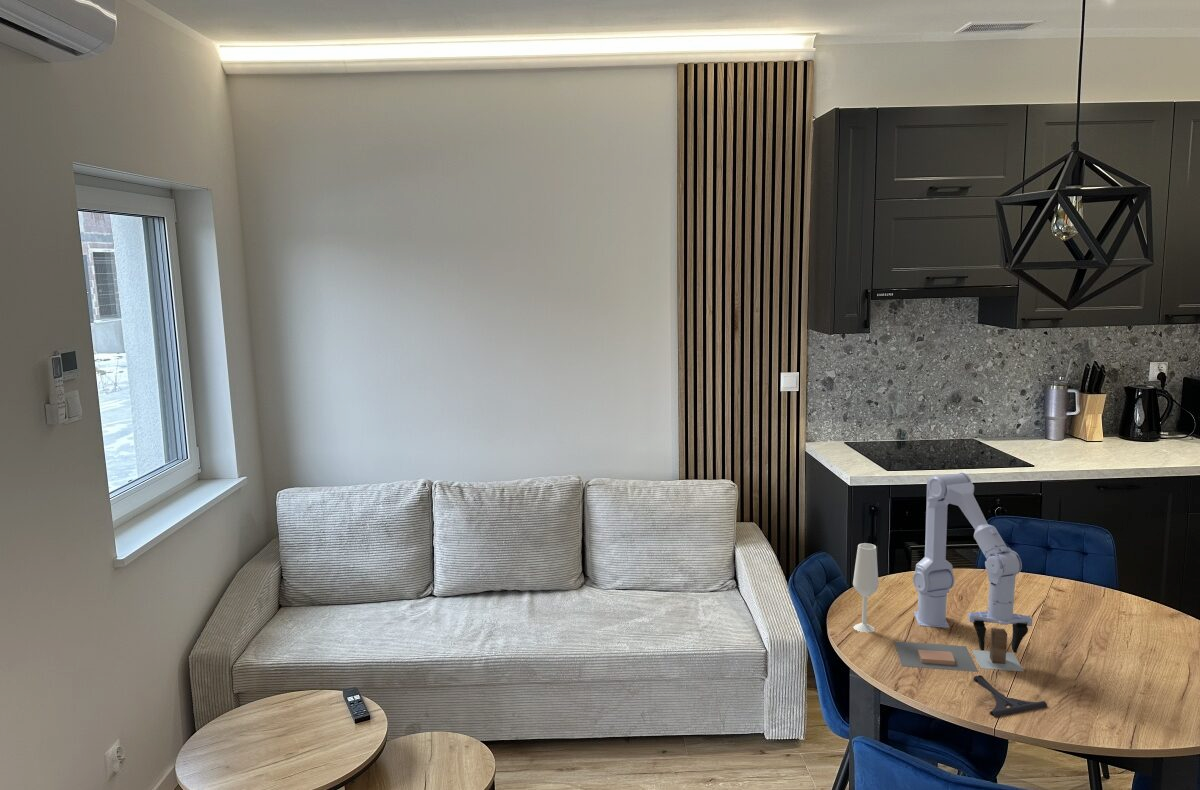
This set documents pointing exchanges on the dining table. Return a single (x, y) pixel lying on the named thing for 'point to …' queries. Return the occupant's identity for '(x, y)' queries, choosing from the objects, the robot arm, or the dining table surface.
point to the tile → (936, 657)
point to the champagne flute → (865, 579)
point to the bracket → (1008, 701)
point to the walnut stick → (998, 645)
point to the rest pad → (986, 663)
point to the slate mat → (910, 650)
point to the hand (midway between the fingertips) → (997, 649)
